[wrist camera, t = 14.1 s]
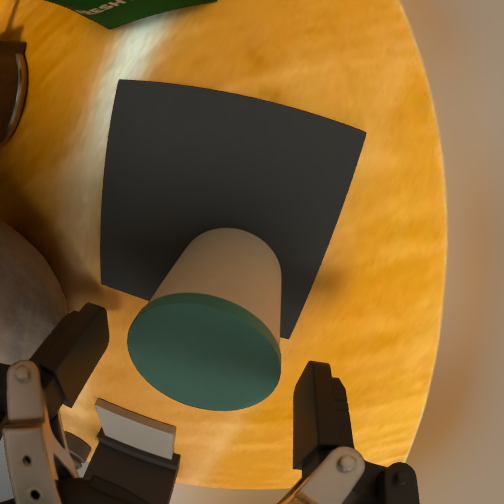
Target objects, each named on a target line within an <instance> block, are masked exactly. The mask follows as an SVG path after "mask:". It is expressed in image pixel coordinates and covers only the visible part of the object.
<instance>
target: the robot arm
mask: <svg viewBox="0 0 504 504" xmlns="http://www.w3.org/2000/svg"><path fill="white" fill-rule="evenodd" d="M24 47H25V42H21V41H11V40H0V148H1V147H2V146H4V145H5V144H6V142H7V141H8V140H9V139H10V137H11V136H12V134H13V132H14V130H15V128H16V126H17V123H18V121H19V118H20V115H21V112H22V108H23V104H24V99H25V92H26V83H27V71H26V63H25V59H24V56H23V52H24ZM108 343H109V328H108V320H107V312H106V309H105V308H103V307H101V306H98V305H95V304H92V303H89V302H88V303H86V304H85V305H84V306H83V307H82V309H81V310H80V311H79V312H77V311H75V310H74V311H73V312H71V313H69V314H67V315H66V316H64V317H63V318H62V319H61V321H60V322H59V323H58V324H57V327H55V328H54V329H53V330H52V331H51V334H49V335H48V336H47V338H46V339H45V340H44V341H43V342H42V344H41V345H40V346H39V348H38V349H37V350H36V351H35V353H34V354H33V355H32V357H31V358H30V359H29V360H19V361H16V362H14V363H13V364H12V365H8V364H3V363H0V440H1V438H2V436H3V440H4V447H5V455H6V461H7V466H8V472H9V477H10V482H11V486H12V491H13V495H14V498H13V499H10V500H7V501H4V502H0V504H151V503H149V502H147V501H145V500H143V499H142V498H140V497H138V496H137V495H135V494H133V493H132V492H130V491H129V490H127V489H125V488H124V487H122V486H120V485H117V484H115V483H112V482H110V481H108V480H105V479H103V478H101V477H98V476H96V475H94V474H93V475H92V477H91V479H90V478H79V475H78V472H77V469H76V466H75V464H74V462H73V460H72V458H71V456H70V453H69V450H68V446H67V442H66V438H65V434H64V430H63V425H62V420H61V415H60V411H59V409H60V407H61V406H62V404H64V405H66V406H68V407H70V408H72V406H73V404H74V403H75V401H76V399H77V397H78V396H79V394H80V392H81V390H82V389H83V387H84V385H85V383H86V382H87V380H88V378H89V377H90V375H91V373H92V372H93V370H94V368H95V367H96V365H97V363H98V362H99V360H100V358H101V357H102V355H103V354H104V352H105V350H106V348H107V346H108ZM348 410H349V408H348V403H347V396H346V390H345V388H344V386H343V384H342V383H341V381H340V379H339V378H333V377H332V375H331V368H330V365H329V364H328V363H322V362H316V361H309V362H308V364H307V365H306V367H305V369H304V371H303V373H302V375H301V376H300V378H299V380H298V382H297V384H296V386H295V390H294V395H293V469H299V470H302V477H301V478H300V479H299V480H298V482H297V483H296V484H295V485H294V486H293V487H292V488H291V489H290V490H289V491H288V492H287V493H286V494H285V495H284V496H283V497H282V498H281V499H280V500H279V501H278V502H277V503H276V504H420V503H419V494H418V486H417V479H416V474H415V471H414V470H413V469H412V467H411V466H409V465H408V464H406V463H402V462H397V463H394V464H392V465H390V466H389V467H384V466H380V465H377V464H373V463H370V462H367V461H365V460H364V459H363V457H362V455H361V454H360V453H359V452H358V451H357V450H355V448H354V444H353V436H352V429H351V422H350V415H349V412H348Z"/></svg>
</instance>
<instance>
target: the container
mask: <svg viewBox="0 0 504 504" xmlns="http://www.w3.org/2000/svg"><path fill="white" fill-rule="evenodd" d="M280 313H281V268H280V265H279V262H278V259H277V257H276V255H275V254H274V252H273V251H272V249H271V248H270V247H269V246H268V245H267V244H266V243H265V242H264V241H263V240H261V239H260V238H258V237H257V236H255V235H253V234H251V233H249V232H246V231H243V230H240V229H235V228H218V229H213V230H209V231H206V232H204V233H202V234H200V235H199V236H197V237H196V238H195V239H194V240H192V241H191V242H190V244H189V245H188V246H187V248H186V249H185V250H184V252H183V253H182V255H181V256H180V257H179V259H178V260H177V262H176V263H175V265H174V266H173V267H172V269H171V270H170V272H169V273H168V275H167V276H166V278H165V279H164V280H163V282H162V283H161V285H160V286H159V288H158V289H157V291H156V292H155V294H154V295H153V297H152V298H151V300H150V301H149V303H148V304H147V305H146V306H145V307H144V308H142V310H141V311H140V312H139V313H138V315H137V316H136V318H135V319H134V321H133V322H132V324H131V326H130V329H129V332H128V338H127V345H128V351H129V354H130V357H131V359H132V362H133V364H134V365H135V367H136V369H137V370H138V371H139V373H140V374H141V375H142V376H143V377H144V379H145V380H146V381H147V382H148V383H150V384H151V385H152V386H153V387H154V388H156V389H157V390H158V391H160V392H161V393H163V394H164V395H166V396H168V397H170V398H172V399H174V400H176V401H178V402H180V403H183V404H186V405H189V406H192V407H196V408H200V409H205V410H213V411H232V410H239V409H243V408H247V407H250V406H253V405H255V404H257V403H259V402H261V401H263V400H264V399H265V398H267V397H268V396H269V395H270V394H271V393H272V392H273V391H274V389H275V388H276V386H277V384H278V382H279V379H280V374H281V353H280V348H279V342H280Z"/></svg>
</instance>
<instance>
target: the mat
mask: <svg viewBox="0 0 504 504" xmlns="http://www.w3.org/2000/svg"><path fill="white" fill-rule="evenodd" d="M365 137H366V132H364V131H362V130H359V129H356V128H354V127H351V126H348V125H345V124H343V123H340V122H337V121H334V120H331V119H328V118H325V117H322V116H319V115H316V114H312V113H309V112H306V111H302V110H299V109H295V108H292V107H288V106H285V105H281V104H277V103H273V102H269V101H265V100H261V99H257V98H252V97H248V96H243V95H239V94H234V93H229V92H223V91H218V90H212V89H206V88H200V87H193V86H186V85H179V84H170V83H161V82H151V81H138V80H121V79H120V80H119V81H118V85H117V90H116V95H115V100H114V105H113V110H112V116H111V122H110V128H109V135H108V142H107V150H106V158H105V167H104V178H103V190H102V206H101V239H100V256H101V284H102V285H105V286H108V287H111V288H114V289H116V290H119V291H122V292H125V293H128V294H131V295H134V296H137V297H140V298H143V299H146V300H149V301H150V300H151V298H152V297H153V295H154V294H155V292H156V291H157V289H158V288H159V286H160V285H161V283H162V282H163V280H164V279H165V278H166V276H167V275H168V273H169V272H170V270H171V269H172V267H173V266H174V265H175V263H176V262H177V260H178V259H179V257H180V256H181V255H182V253H183V252H184V250H185V249H186V248H187V246H188V245H189V244H190V242H191V241H192V240H194V239H195V238H196V237H197V236H199V235H200V234H202V233H204V232H206V231H209V230H213V229H218V228H235V229H240V230H243V231H246V232H249V233H251V234H253V235H255V236H257V237H258V238H260V239H261V240H263V241H264V242H265V243H266V244H267V245H268V246H269V247H270V248H271V249H272V251H273V252H274V254H275V255H276V257H277V259H278V262H279V265H280V268H281V313H280V337H282V338H286V339H289V338H290V336H291V334H292V331H293V329H294V327H295V325H296V322H297V320H298V318H299V316H300V313H301V311H302V309H303V306H304V304H305V302H306V299H307V297H308V295H309V292H310V290H311V287H312V285H313V283H314V280H315V278H316V275H317V273H318V270H319V268H320V265H321V263H322V260H323V258H324V255H325V252H326V250H327V247H328V245H329V242H330V239H331V237H332V234H333V231H334V229H335V226H336V223H337V221H338V218H339V215H340V212H341V210H342V207H343V204H344V201H345V198H346V195H347V192H348V190H349V187H350V184H351V181H352V178H353V175H354V172H355V169H356V166H357V162H358V159H359V156H360V153H361V150H362V147H363V143H364V140H365Z"/></svg>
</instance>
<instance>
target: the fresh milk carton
mask: <svg viewBox="0 0 504 504" xmlns="http://www.w3.org/2000/svg"><path fill="white" fill-rule="evenodd" d="M45 1H48V2H52V3H55V4H58V5H61V6H64V7H66V8H68V9H71V10H73V11H75V12H77V13H79V14H81V15H83V16H85V17H87V18H89V19H91V20H93V21H95V22H97V23H99V24H101V25H102V26H104V27H106V28H108V29H111V28H114V27H117V26H120V25H122V24H125V23H128V22H131V21H134V20H137V19H140V18H144V17H147V16H150V15H154V14H158V13H161V12H165V11H169V10H173V9H177V8H182V7H186V6H191V5H196V4H201V3H207V2H213V1H217V0H45Z"/></svg>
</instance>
